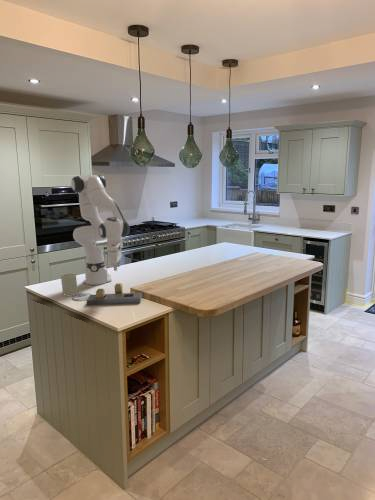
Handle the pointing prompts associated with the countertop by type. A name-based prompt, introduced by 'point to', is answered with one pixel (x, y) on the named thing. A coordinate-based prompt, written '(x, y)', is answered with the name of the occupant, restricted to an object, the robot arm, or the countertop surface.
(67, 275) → the glass tumbler
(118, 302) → the grey peg hole board
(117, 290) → the wooden post chunk
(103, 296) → the tan square peg
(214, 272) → the countertop surface
